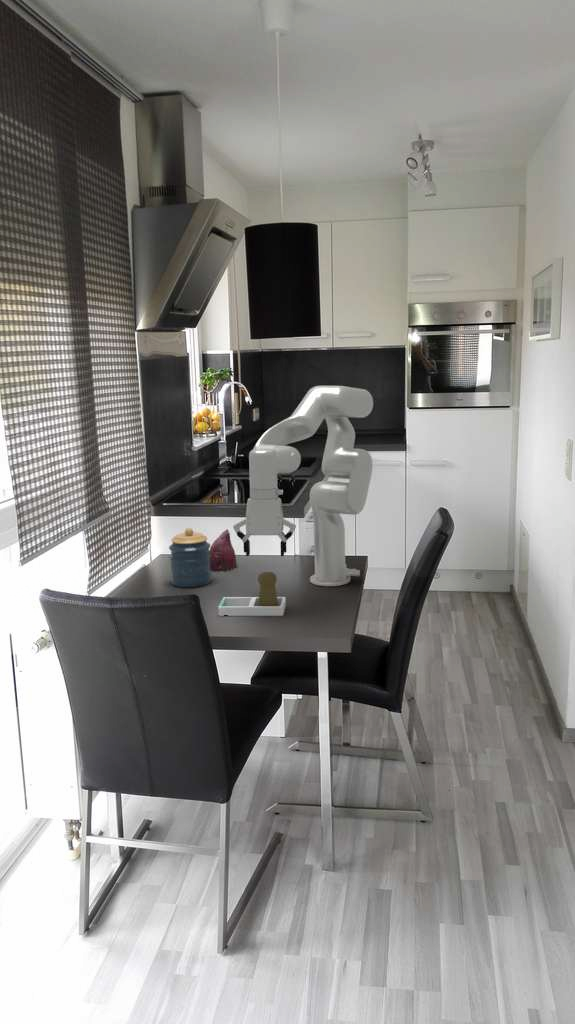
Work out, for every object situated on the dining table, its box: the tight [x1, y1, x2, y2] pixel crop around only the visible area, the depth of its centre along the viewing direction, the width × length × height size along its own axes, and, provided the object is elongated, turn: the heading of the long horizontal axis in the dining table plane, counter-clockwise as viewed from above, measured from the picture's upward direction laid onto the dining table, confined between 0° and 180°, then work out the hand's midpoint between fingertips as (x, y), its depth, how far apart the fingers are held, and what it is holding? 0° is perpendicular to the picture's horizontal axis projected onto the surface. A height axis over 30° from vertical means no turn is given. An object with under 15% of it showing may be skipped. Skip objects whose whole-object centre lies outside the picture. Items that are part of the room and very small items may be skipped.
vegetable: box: [209, 529, 238, 572], centre depth 277 cm, size 10×10×15 cm
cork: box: [257, 571, 278, 606], centre depth 231 cm, size 6×6×11 cm
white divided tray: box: [217, 596, 287, 617], centre depth 232 cm, size 18×9×2 cm, turn 85°
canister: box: [168, 527, 213, 588], centre depth 261 cm, size 13×13×18 cm
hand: (265, 555), depth 228 cm, fingers open, 9 cm apart
